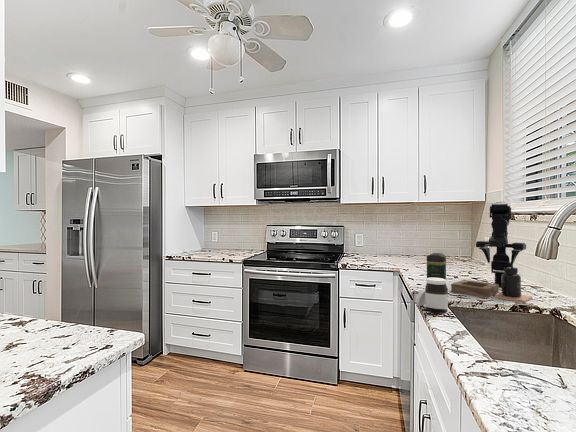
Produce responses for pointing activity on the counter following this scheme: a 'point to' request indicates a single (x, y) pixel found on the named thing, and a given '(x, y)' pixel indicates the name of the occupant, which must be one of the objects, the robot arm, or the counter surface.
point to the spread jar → (434, 295)
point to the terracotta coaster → (521, 299)
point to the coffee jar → (436, 266)
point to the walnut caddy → (475, 288)
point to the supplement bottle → (511, 282)
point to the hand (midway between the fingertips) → (500, 263)
